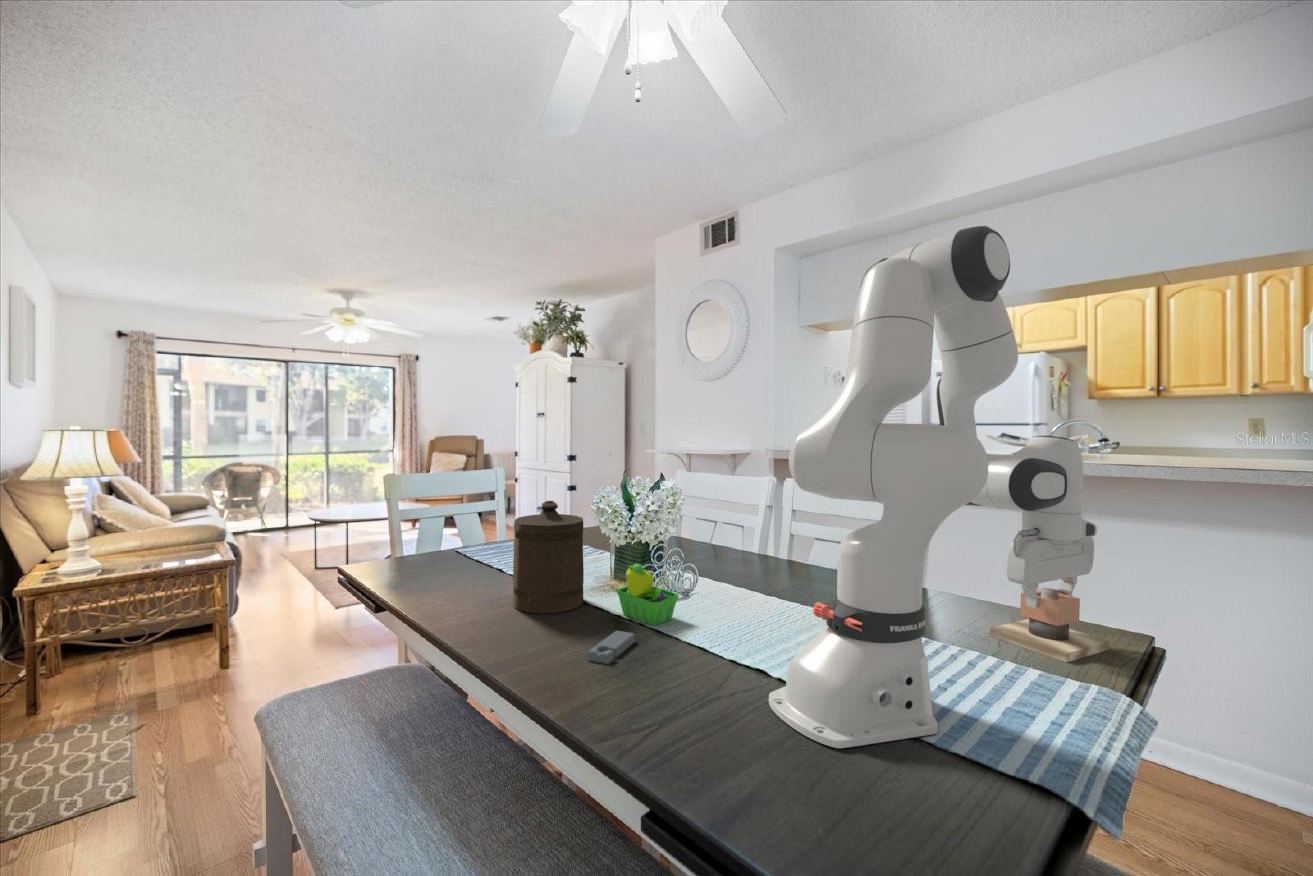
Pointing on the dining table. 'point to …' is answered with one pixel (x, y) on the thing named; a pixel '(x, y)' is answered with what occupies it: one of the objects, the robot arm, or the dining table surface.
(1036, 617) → the orange square ring
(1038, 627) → the pin stand
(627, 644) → the bracket
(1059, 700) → the dining table surface
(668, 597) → the fruit basket
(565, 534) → the wooden container
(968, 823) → the dining table surface
